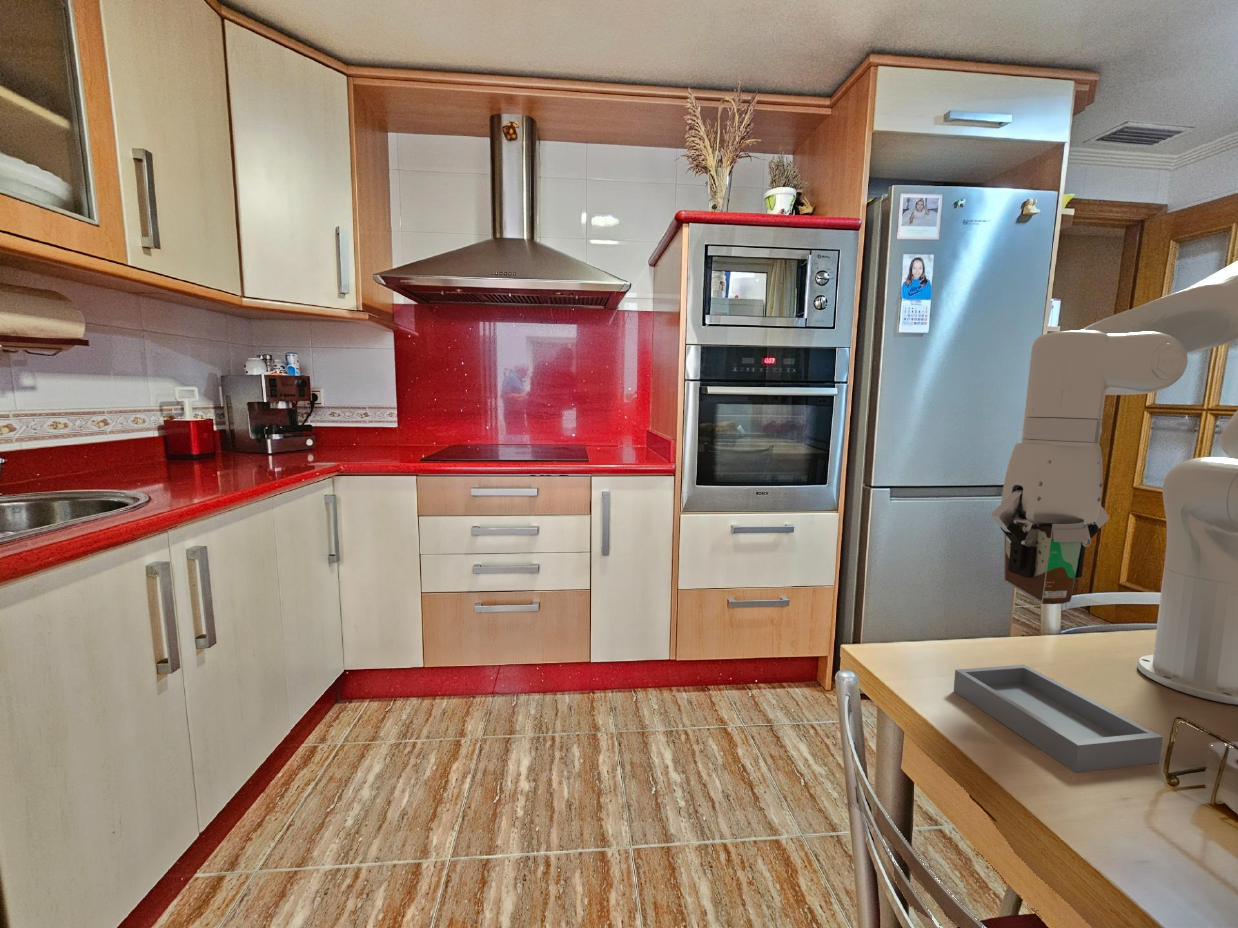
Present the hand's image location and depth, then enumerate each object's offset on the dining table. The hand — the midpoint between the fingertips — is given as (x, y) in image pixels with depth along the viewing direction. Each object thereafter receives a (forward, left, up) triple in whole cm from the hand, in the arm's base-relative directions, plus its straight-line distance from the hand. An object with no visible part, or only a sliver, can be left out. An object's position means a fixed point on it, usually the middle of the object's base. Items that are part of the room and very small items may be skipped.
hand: (1044, 573), depth 69 cm
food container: (-1, 0, -3) cm, 3 cm away
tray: (+3, +5, -17) cm, 18 cm away
